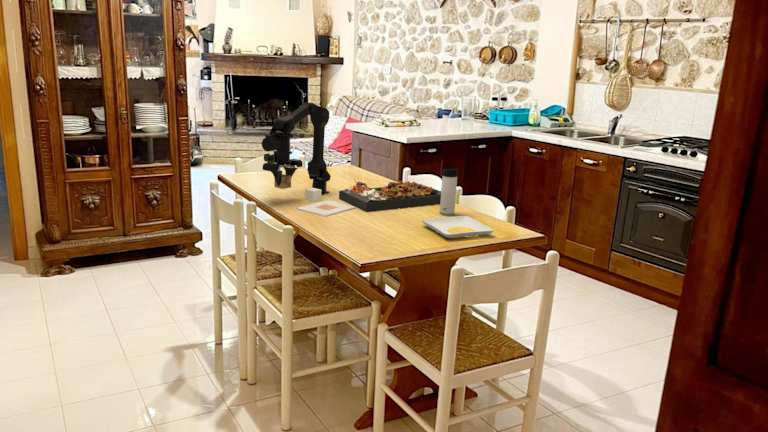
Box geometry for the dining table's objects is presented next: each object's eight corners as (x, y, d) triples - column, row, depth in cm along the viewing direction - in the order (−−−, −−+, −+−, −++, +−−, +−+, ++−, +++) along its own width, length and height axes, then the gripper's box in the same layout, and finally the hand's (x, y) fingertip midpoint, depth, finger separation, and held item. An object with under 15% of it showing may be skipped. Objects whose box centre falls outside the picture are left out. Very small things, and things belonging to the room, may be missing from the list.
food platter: (366, 213, 263) (367, 189, 260) (338, 200, 283) (339, 178, 281) (450, 204, 286) (452, 182, 284) (420, 192, 307) (421, 172, 304)
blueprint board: (327, 201, 277) (327, 199, 277) (356, 208, 268) (356, 206, 268) (296, 209, 262) (296, 207, 261) (325, 216, 253) (325, 215, 252)
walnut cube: (282, 185, 273) (282, 174, 272) (291, 187, 270) (291, 175, 269) (274, 187, 269) (274, 175, 268) (282, 188, 266) (282, 177, 265)
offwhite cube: (312, 198, 282) (313, 187, 280) (321, 200, 279) (321, 189, 278) (305, 200, 278) (305, 189, 276) (313, 202, 275) (313, 191, 274)
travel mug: (445, 216, 262) (448, 170, 257) (436, 212, 268) (440, 167, 263) (457, 215, 265) (461, 169, 260) (448, 211, 271) (452, 166, 265)
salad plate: (445, 242, 228) (446, 233, 227) (419, 226, 247) (420, 218, 246) (494, 238, 237) (495, 229, 236) (465, 223, 255) (466, 215, 254)
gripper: (285, 144, 277) (284, 178, 281) (253, 148, 262) (253, 184, 266) (303, 147, 271) (302, 182, 275) (272, 152, 256) (272, 189, 260)
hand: (282, 184), depth 269 cm, fingers closed on walnut cube, 5 cm apart
